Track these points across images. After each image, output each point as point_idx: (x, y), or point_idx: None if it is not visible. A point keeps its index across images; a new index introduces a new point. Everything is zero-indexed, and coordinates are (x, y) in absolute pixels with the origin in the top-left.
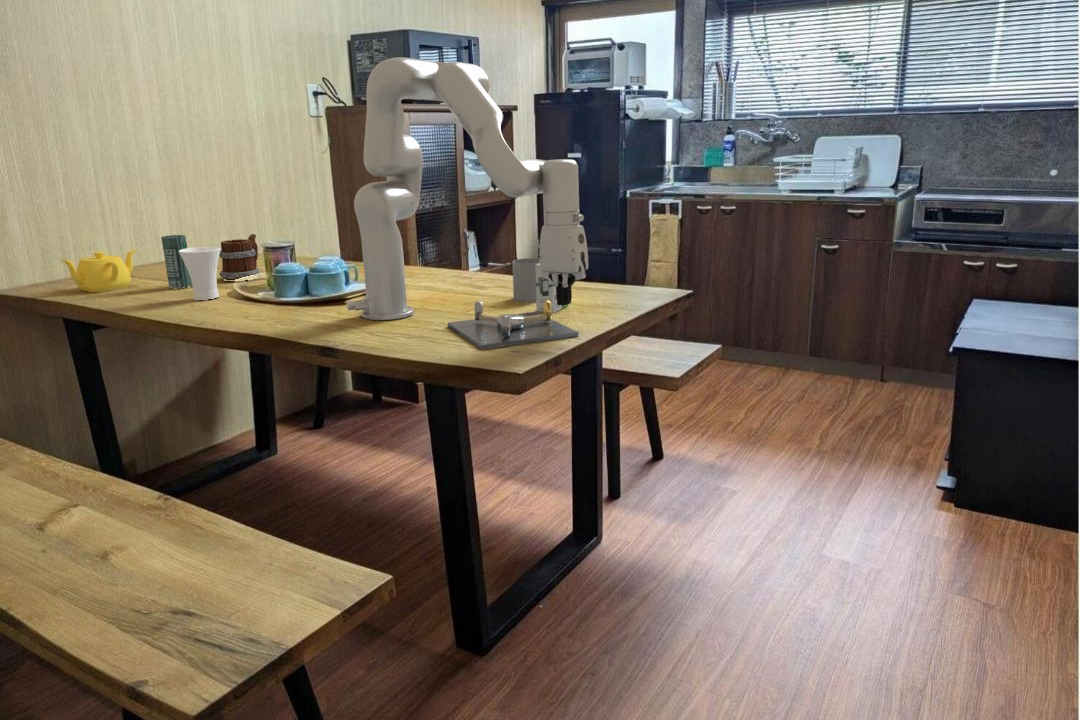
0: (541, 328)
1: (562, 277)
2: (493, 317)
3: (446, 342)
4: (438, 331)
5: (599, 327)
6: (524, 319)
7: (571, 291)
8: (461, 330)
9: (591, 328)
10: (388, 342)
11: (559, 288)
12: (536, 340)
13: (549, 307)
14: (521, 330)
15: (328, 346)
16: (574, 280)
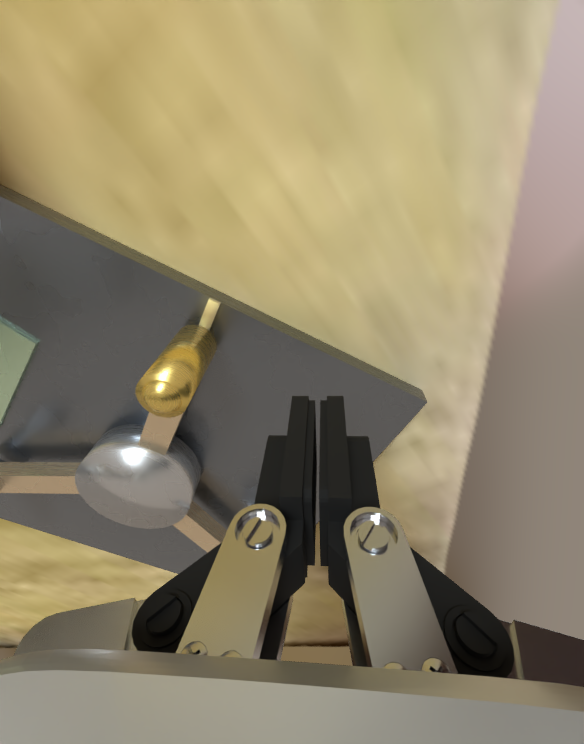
0: (258, 428)
1: (271, 600)
2: (65, 492)
3: (129, 574)
4: (5, 526)
5: (449, 186)
6: (167, 451)
7: (375, 481)
8: (78, 539)
9: (414, 235)
10: (42, 607)
11: (312, 564)
12: None
13: (195, 388)
14: (218, 475)
15: (3, 644)
16: (446, 598)
